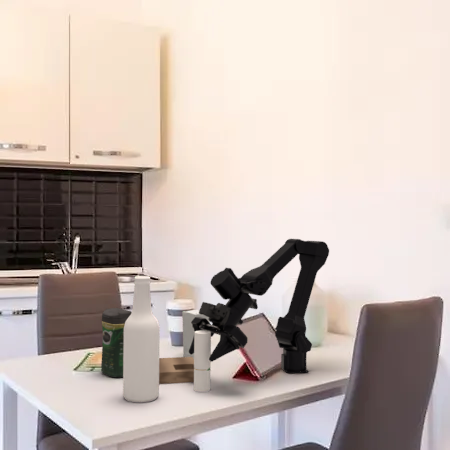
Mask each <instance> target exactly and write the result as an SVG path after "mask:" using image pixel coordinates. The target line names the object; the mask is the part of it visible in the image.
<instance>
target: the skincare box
mask: <svg viewBox="0 0 450 450" xmlns="http://www.w3.org/2000/svg"><path fill="white" fill-rule="evenodd" d="M199 310H200V309H191V310H184V311H182V313H181V315H182V346H183V350H182V352H183V353H182V354H183V357H193V359H194V353H193V354H192V355H191V354H190V353H189V349H190V346H191V343H192V341H193V337H194V328H193V327H192V324H191V322H192V320H193V319H194V318H195V317H202V318H206V319H207V320H208V319H209V317H207V316H205V315H203V314H199ZM208 322H209V323H210V324H211V322H210V321H209V320H208Z"/></svg>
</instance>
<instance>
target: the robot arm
mask: <svg viewBox="0 0 450 450" xmlns="http://www.w3.org/2000/svg"><path fill="white" fill-rule="evenodd" d="M297 256H298V260H299V263H300V270H299V273H298V277H297V280H296V283H295V287H294V290H293V294H292V297H291V301H290V304H289V308H288V311H287V313H286V314H285V315H284V316H279V317H278V319H277V322H276V327H275V328H274V330H275V338H276V341H277V344H278V347H279V349H280V348H281V349H282V353H281V356H280V359H281V360H280V362H281V363H280V369H282V370H283V371H284V372H285V373H287V374H300V373H309V369H307V354H308V352H310V351H311V349H312V347H313V346H312V345H313V343H312V342H311V341H310V339H308V337H307V336H306V332H307V327H306V326H307V325H306V321H305V316H306V312H307V309H308V305H309V301H310V298H311V294H312V290H313V288H314V285H315V281H316V278H317V273H318V272H319V270H321V268H322V267H324V265H326V262H327V259H328V257H329V256H330V248H329V247H328V244H327V243H326V242H325V241H321V240H320V241H319V240H302V239H299V238H288V239H287V240H286V241H285V242H284V244H283V245H282V246H280V248H278V249H277V250H276V251H275V252H274V253H273V254H272V255H271V256H270V257H269V258H268V259H267V260H266V261H265V262H263V263H262V264H261V265H260V266H257V267H255V268H252V269H250V270H248V271H247V272H245V273H244V274H242V276H241V277H238V276H237V275H236V274H235V272H234V270H233V269H232V268H231V267H225V268H224V269H223V270H221V271H219V272H218V273H216V274H214V275H213V276H212V277H211V279H210V285H211V286H212V288H213V289H214V290H215V291H216V293H218V295H219V296H220V297H221V299H223V300H227V302H226V303H225V304H224V303H221V302H218V303H217V304H216V305H215V304H213V303H209V302H205V301H203V302H202V303H201V305H200V309H198V310H199V314H203V315H205V316H207V317H209V319H208V320H209V321H210V323H209V322H208V320H207V319H206V318H202V317H195V318H194V319H193V320H192V322H191V324H192V327H193V328H194V332H195V331H200V330H205V331H210V332H211V338H212V337H213V336H214V335H218V336H219V342H218V343H217V345H216V346H215V348H214V349H213V351H211V356H210V358H209V360H210V361H211V363H212V362H214V361H216V360H218V359H220V358H222V357H224V356H226V355H227V354H230V353H232V352H234V351H235V350H240V348H242V349H244V348H245V347H246V345H248V340H249V339H248V337H247V335H246V334H245V333H244V331H243V330H241V328H240V327H239V326H238V325H240V326H242V324H243V323H244V321H243V320H242V319H243V317H244V316H245V315H246V314H247V312H248V311H249V310H250V309H253V310H258V308H259V307H258V300H257V299H256V298H252V296H251V295H255V296H258V297H259V296H263V295H265V294H266V293H267V292H268V290H269V289H270V288H271V287H272V285H273V281H274V278H275V277H276V276H277V275H278V274H279V273H281V271H282V270H283V269H284V268H285V267H286V266H287V265H288V264H289V263H291V261H292V260H294V258H296V257H297ZM189 353H190V354H191V355H192V354H193V353H194V337H193V341H192V343H191V346H190V349H189Z"/></svg>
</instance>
